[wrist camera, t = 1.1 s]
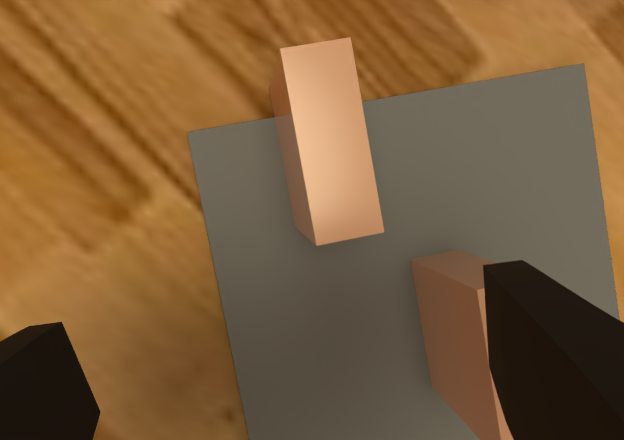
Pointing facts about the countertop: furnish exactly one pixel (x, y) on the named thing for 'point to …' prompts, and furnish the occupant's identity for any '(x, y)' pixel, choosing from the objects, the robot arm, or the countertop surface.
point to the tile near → (325, 142)
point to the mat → (396, 248)
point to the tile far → (459, 338)
